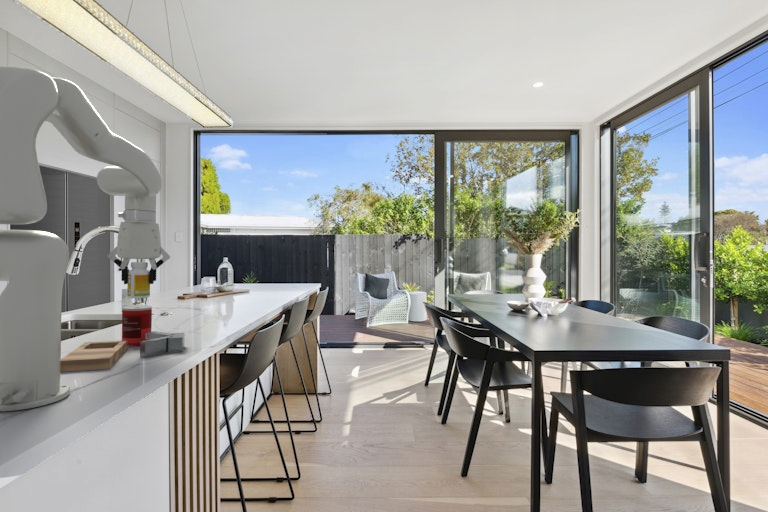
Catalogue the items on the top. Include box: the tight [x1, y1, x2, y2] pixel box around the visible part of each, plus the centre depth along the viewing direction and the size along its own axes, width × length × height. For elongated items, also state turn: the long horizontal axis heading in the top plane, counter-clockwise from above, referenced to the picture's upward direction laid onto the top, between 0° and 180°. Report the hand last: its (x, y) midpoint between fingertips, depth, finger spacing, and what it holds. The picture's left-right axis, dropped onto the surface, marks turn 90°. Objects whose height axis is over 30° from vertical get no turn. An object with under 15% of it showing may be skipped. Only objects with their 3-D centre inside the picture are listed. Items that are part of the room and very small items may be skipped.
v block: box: [139, 330, 186, 358], centre depth 119 cm, size 10×16×4 cm, turn 21°
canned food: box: [121, 304, 153, 347], centre depth 126 cm, size 8×8×11 cm
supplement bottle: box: [126, 261, 151, 299], centre depth 116 cm, size 5×5×10 cm
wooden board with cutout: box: [60, 340, 128, 373], centre depth 107 cm, size 20×10×2 cm, turn 21°
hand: (139, 283), depth 116 cm, fingers closed on supplement bottle, 5 cm apart
